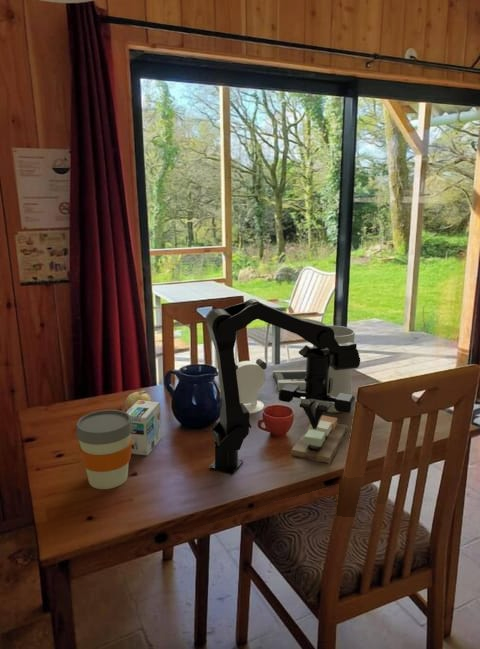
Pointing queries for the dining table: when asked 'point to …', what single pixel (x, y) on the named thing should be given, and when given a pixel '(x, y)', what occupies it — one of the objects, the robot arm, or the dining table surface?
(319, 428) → the white cube
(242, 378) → the panda figurine
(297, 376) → the light grey tray
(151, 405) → the light bulb box
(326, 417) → the salmon tan cube
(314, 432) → the pale green cube
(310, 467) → the dining table surface
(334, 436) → the walnut panel
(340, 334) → the cylinder vase
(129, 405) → the onion
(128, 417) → the reusable coffee cup
